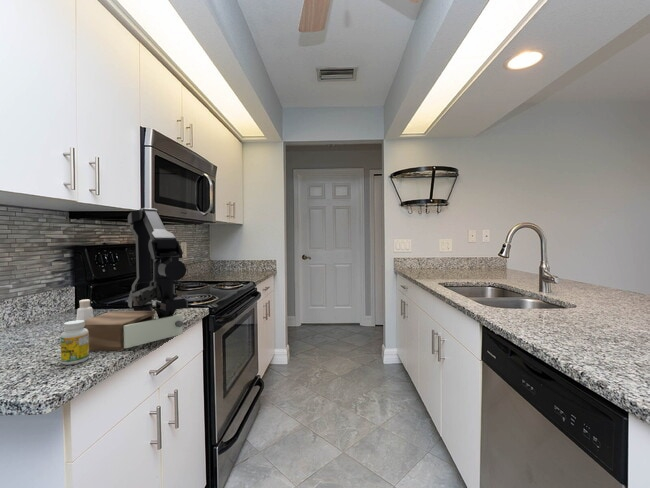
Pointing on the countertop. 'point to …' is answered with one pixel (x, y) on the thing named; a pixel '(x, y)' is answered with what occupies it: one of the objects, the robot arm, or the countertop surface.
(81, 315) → the salt shaker
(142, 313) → the cabinet
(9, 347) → the countertop surface
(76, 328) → the supplement bottle
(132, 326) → the side door
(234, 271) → the countertop surface
